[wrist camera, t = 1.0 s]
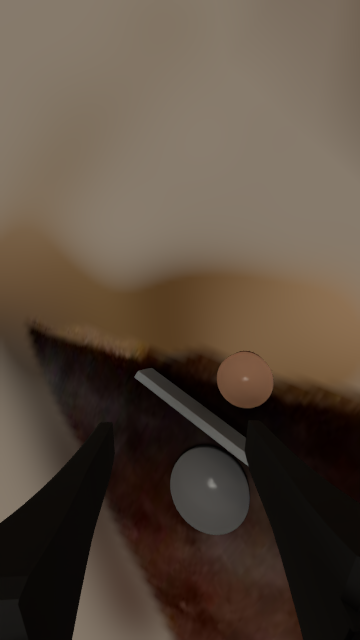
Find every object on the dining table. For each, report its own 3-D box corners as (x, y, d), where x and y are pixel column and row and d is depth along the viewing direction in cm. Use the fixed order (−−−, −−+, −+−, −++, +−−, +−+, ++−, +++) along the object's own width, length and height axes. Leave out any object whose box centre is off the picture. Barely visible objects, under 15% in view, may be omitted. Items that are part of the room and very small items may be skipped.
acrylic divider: (319, 492, 22) (331, 518, 18) (314, 499, 22) (325, 527, 19) (151, 367, 28) (138, 370, 24) (148, 373, 28) (134, 377, 25)
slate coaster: (265, 482, 23) (266, 487, 22) (222, 547, 24) (221, 554, 23) (197, 429, 26) (196, 431, 25) (159, 489, 26) (156, 493, 25)
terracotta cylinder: (276, 366, 24) (284, 372, 18) (253, 402, 24) (254, 419, 19) (238, 342, 25) (234, 341, 20) (216, 377, 26) (206, 386, 20)
